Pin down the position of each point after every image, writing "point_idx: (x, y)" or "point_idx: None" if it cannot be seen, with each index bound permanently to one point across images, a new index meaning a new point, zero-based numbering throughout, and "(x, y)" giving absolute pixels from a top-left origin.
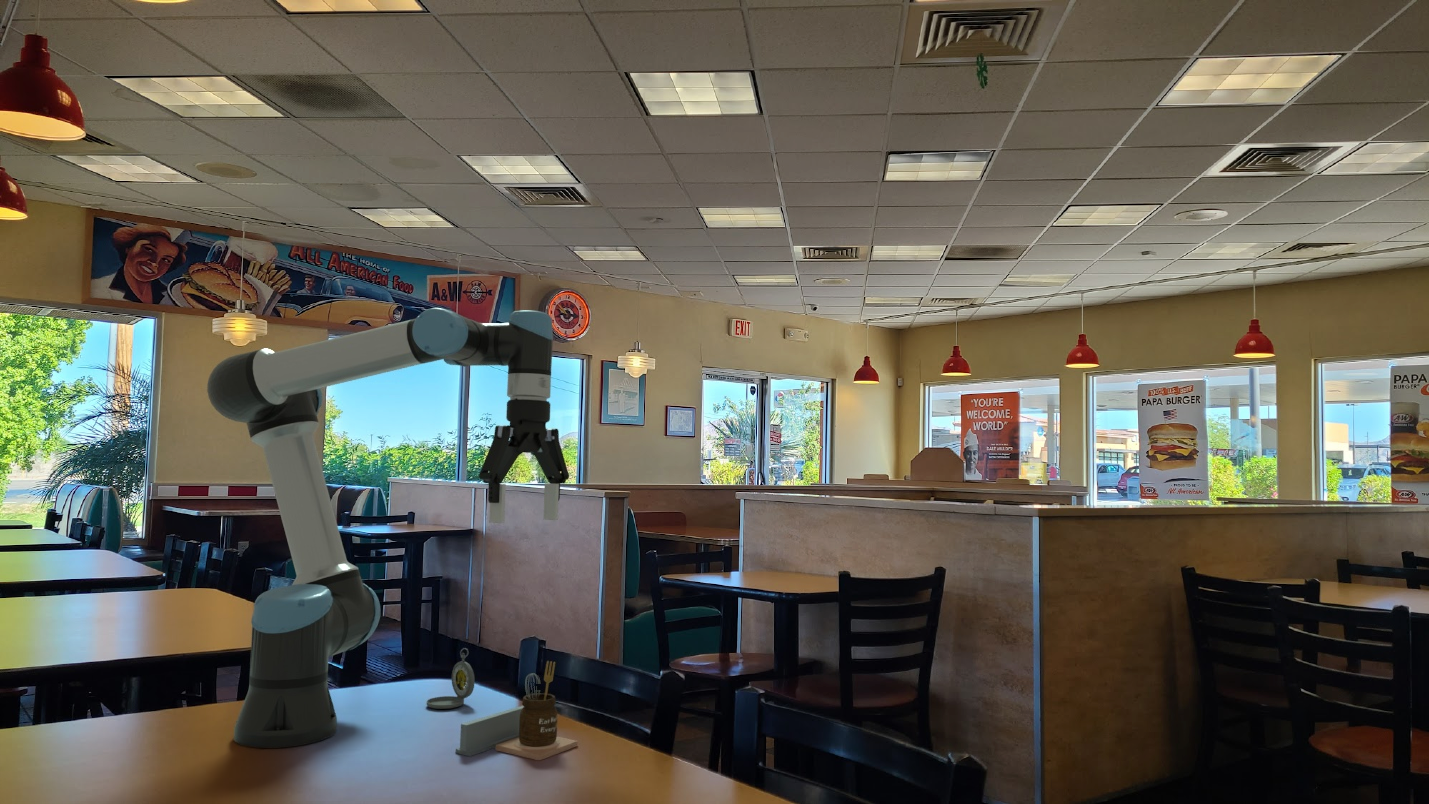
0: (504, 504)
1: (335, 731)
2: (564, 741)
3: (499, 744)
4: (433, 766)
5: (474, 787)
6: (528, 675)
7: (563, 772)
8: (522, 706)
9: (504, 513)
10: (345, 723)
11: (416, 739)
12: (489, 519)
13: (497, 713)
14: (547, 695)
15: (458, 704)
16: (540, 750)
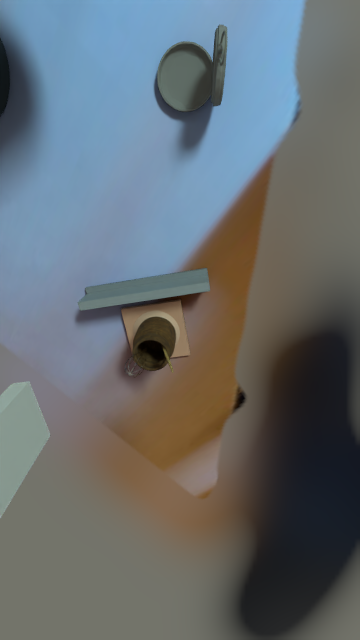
0: (8, 499)
1: (2, 110)
2: (179, 347)
3: (124, 311)
4: (50, 306)
5: (55, 373)
6: (126, 370)
7: (132, 394)
8: (174, 290)
9: (31, 465)
10: (30, 65)
11: (76, 212)
12: (4, 392)
13: (132, 295)
14: (166, 351)
15: (191, 110)
16: None
